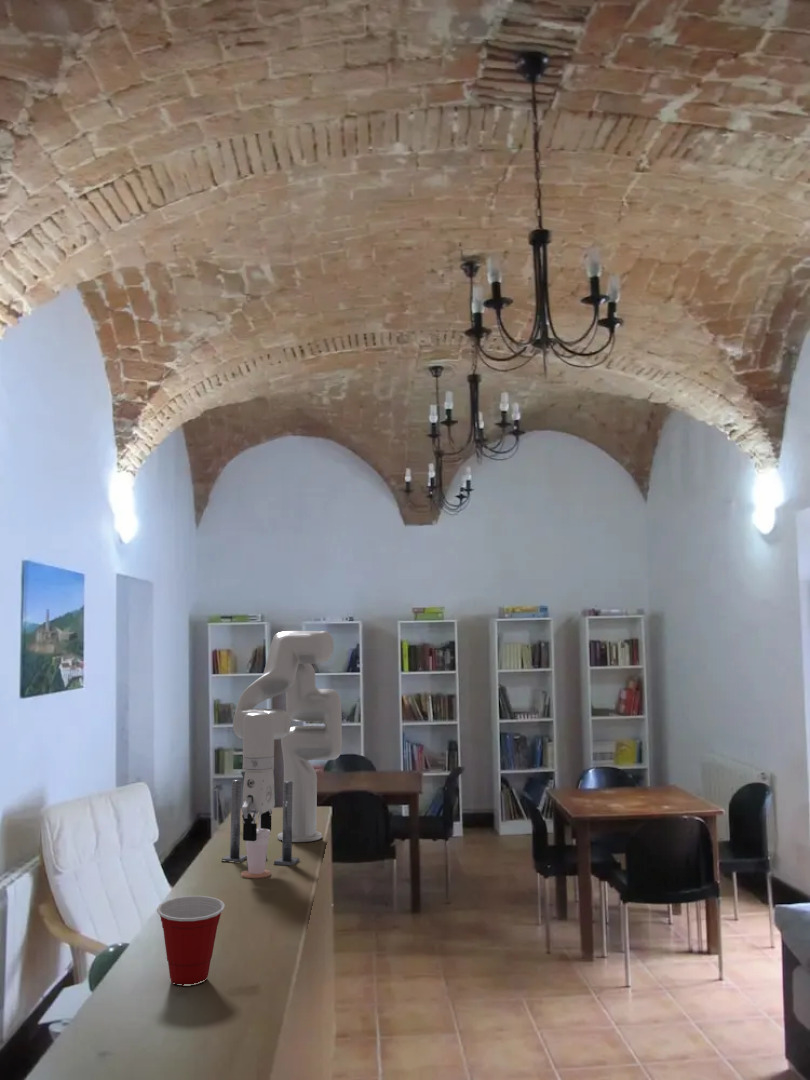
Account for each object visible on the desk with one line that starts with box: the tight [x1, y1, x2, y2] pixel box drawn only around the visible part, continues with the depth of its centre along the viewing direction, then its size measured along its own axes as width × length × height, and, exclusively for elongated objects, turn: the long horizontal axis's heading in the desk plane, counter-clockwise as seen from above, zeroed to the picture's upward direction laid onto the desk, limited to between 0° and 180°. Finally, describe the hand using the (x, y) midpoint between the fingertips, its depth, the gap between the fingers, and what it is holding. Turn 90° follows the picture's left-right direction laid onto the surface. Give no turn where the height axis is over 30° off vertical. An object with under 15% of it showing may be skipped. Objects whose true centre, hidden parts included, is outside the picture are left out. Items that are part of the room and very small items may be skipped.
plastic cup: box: [156, 895, 226, 985], centre depth 151 cm, size 11×11×12 cm
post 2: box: [273, 781, 300, 866], centre depth 235 cm, size 5×5×20 cm
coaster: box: [240, 869, 272, 880], centre depth 221 cm, size 7×7×1 cm
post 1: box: [221, 779, 247, 863], centre depth 238 cm, size 5×5×20 cm
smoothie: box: [245, 813, 271, 874], centre depth 222 cm, size 6×6×14 cm
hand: (257, 836), depth 223 cm, fingers open, 9 cm apart
